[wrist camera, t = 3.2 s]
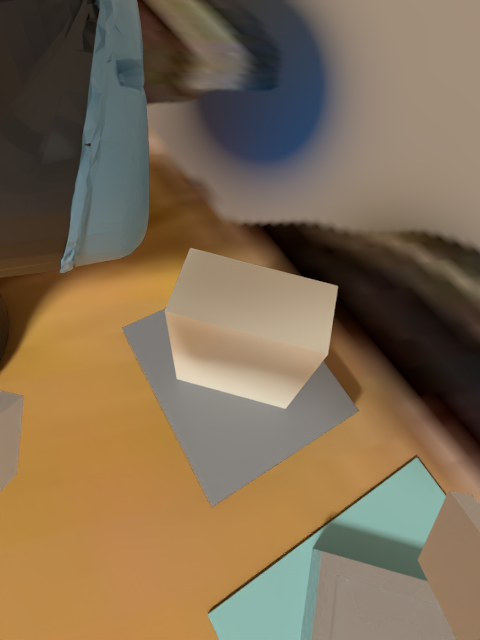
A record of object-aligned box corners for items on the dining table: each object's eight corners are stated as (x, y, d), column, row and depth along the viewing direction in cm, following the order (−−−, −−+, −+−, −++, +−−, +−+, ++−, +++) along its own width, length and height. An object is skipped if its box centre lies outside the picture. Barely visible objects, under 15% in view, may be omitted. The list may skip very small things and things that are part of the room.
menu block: (285, 408, 26) (327, 354, 18) (176, 379, 27) (164, 310, 18) (295, 358, 28) (337, 286, 19) (193, 330, 29) (190, 247, 20)
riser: (211, 507, 26) (212, 506, 23) (128, 344, 31) (122, 327, 28) (345, 420, 29) (359, 410, 27) (251, 287, 34) (256, 267, 32)
